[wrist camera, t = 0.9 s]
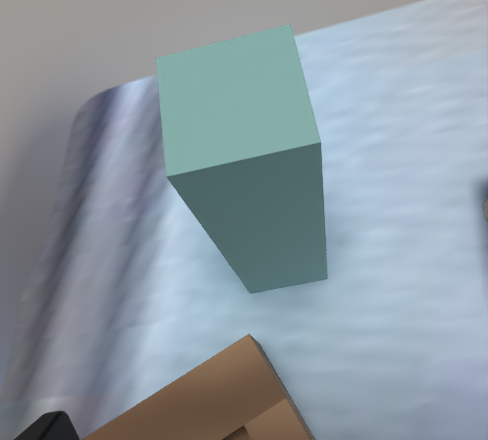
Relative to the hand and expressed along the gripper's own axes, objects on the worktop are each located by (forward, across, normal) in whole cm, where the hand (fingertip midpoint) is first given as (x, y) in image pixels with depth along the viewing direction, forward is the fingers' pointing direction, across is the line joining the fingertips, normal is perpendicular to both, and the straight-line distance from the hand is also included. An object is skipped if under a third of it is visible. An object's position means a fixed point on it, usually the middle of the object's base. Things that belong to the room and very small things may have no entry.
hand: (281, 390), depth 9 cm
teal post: (+15, 0, +4) cm, 15 cm away
